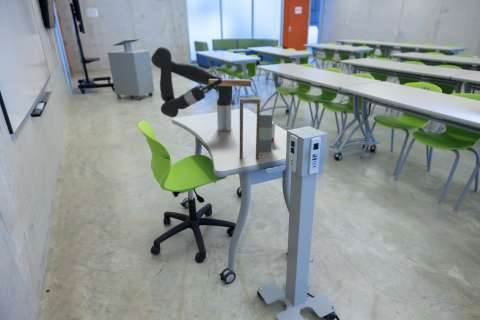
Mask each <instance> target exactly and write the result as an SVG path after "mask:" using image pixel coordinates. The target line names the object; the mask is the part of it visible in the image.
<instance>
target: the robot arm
mask: <svg viewBox="0 0 480 320" xmlns="http://www.w3.org/2000/svg"><path fill="white" fill-rule="evenodd" d="M150 60H151V63H152V64H153V66H155V68H159V69H160V79H159V90H160V97H161V99H162V101H164V103H162V104H161V107H160V112H161V113H162V114H163V115H165V116H168V117H170V118H175V117H177V116H178V114H179V110H185V109H187V108H189V107H190V106H193V105H194V104H196V103H198V102H200V101H202V100H203V99H205V98H206V94H208V93H209V92H210V91H212V90H215V91H217V92H218V99H217V100H216V115H217V117H216V118H217V121H216V122H217V130H218V131H219V132H229V131H232V101H233V86H217V85H219V84H220V83H222V80H221V79H224V78H222V77H220V76H216V75H213V74H211V73H210V72H208V71H206V70H205V69H203V68H202V67H199V66H197V65H196V64H193V63H189V62H178V61H174V60H172V53H171V51H170V50H169V48H167V47H166V46H160V47H158V48H157V49H156V50H155V51H154V53H153V54H152V56H151V59H150ZM172 73H173V74H176V75H177V76H180V77H183V78H185V79H187V80H189V81H192V82H194V83H197V85H196V86H194V87H193V88H191V89H189V90H187V91H186V92H185V93H183V94H182V95H180V96H179V97H176V98H175V93H174V87H173V86H174V85H173V76H172ZM209 79H218V80H217V81H215V82H212V83H211V84H210V83H209ZM198 84H201V85H203V86H202V87H201V86H200V85H198Z"/></svg>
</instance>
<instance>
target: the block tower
mask: <svg viewBox="0 0 480 320" xmlns="http://www.w3.org/2000/svg"><path fill="white" fill-rule="evenodd" d="M272 121H273V112H271V111H270V112H269V111H260V121H259V152H271V151H272V142H271V137H272Z"/></svg>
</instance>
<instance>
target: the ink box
mask: <svg viewBox="0 0 480 320" xmlns="http://www.w3.org/2000/svg"><path fill="white" fill-rule="evenodd" d="M275 127H276V123H275V122H274V121H273V120H272V137H271V143H272V142H273V143H274V142H275V135H276V134H275V133H276V131H275V130H276V128H275Z"/></svg>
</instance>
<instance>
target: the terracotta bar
mask: <svg viewBox="0 0 480 320" xmlns="http://www.w3.org/2000/svg"><path fill="white" fill-rule="evenodd" d="M217 80H218V79H209V83H210V84H211V83H212V82H215V81H217ZM221 80H222V83H220V84H219V85H217V86H232V87H248V88H249V87H251V86H252V79H238V78H237V79H231V78H230V79H229V78H228V79H227V78H223V79H221Z"/></svg>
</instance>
